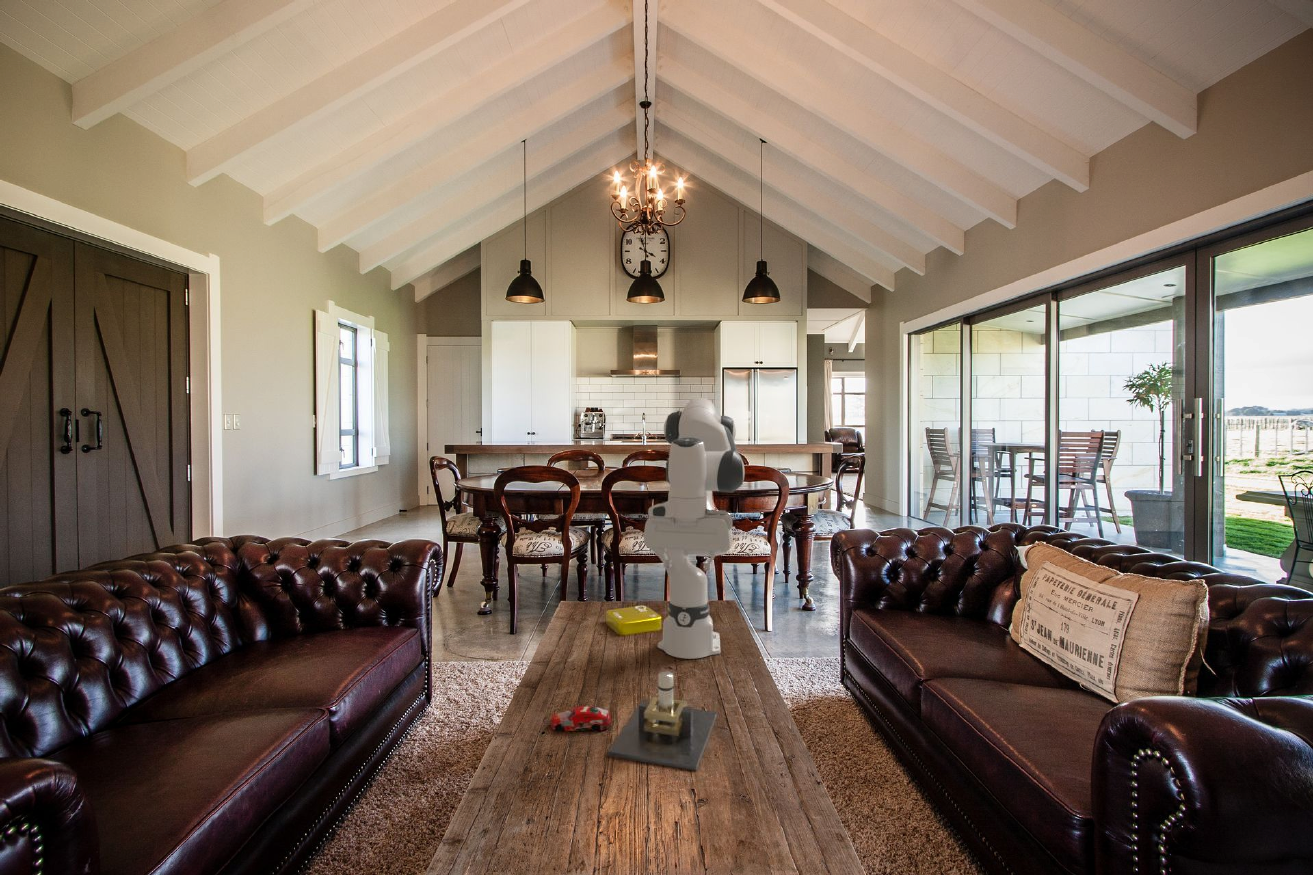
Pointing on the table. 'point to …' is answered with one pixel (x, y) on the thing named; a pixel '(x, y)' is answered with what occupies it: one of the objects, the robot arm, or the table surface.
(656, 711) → the collar stand
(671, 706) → the metal tube
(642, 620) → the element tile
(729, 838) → the table surface
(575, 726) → the race car
